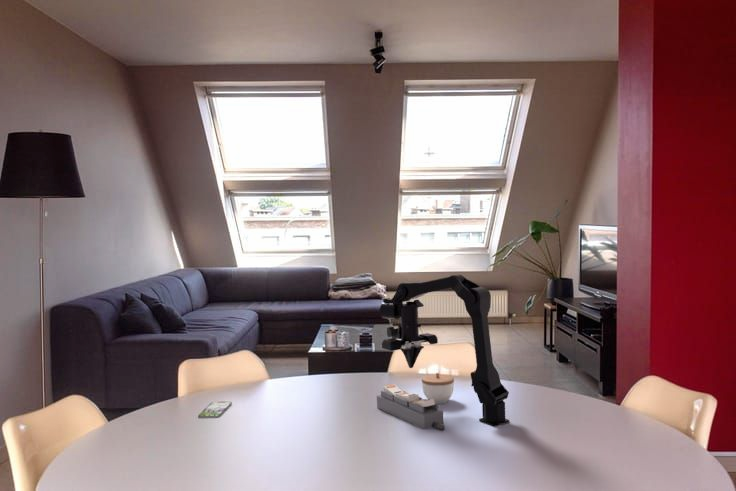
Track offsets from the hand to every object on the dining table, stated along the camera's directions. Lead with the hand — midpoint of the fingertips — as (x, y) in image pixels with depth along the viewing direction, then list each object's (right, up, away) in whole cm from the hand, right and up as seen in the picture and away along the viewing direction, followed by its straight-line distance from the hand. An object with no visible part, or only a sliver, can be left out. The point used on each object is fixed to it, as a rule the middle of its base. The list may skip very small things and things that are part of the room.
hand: (410, 367), depth 197 cm
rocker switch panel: (0, -13, -12) cm, 17 cm away
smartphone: (-65, -15, +2) cm, 67 cm away
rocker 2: (-2, -7, -10) cm, 13 cm away
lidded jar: (+10, -12, +5) cm, 16 cm away
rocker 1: (+3, -7, -17) cm, 19 cm away
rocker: (-6, -7, -3) cm, 10 cm away
